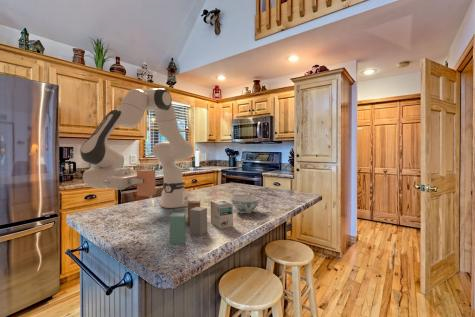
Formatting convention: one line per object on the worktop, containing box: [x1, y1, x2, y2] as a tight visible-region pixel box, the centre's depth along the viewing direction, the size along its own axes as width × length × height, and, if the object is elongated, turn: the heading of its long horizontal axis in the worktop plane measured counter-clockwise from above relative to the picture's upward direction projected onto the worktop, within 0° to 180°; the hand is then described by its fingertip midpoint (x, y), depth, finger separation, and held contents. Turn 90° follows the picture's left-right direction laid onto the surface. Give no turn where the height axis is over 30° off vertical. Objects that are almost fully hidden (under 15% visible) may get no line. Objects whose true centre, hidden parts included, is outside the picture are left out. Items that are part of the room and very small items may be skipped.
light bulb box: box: [210, 198, 234, 230], centre depth 107 cm, size 11×7×11 cm, turn 30°
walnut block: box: [187, 200, 201, 226], centre depth 109 cm, size 5×5×10 cm
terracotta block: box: [136, 169, 156, 197], centre depth 95 cm, size 5×5×10 cm
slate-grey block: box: [189, 206, 208, 237], centre depth 97 cm, size 5×5×10 cm
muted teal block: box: [169, 212, 187, 245], centre depth 88 cm, size 5×5×10 cm
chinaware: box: [231, 195, 260, 214], centre depth 128 cm, size 15×15×8 cm
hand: (148, 180), depth 95 cm, fingers closed on terracotta block, 5 cm apart
